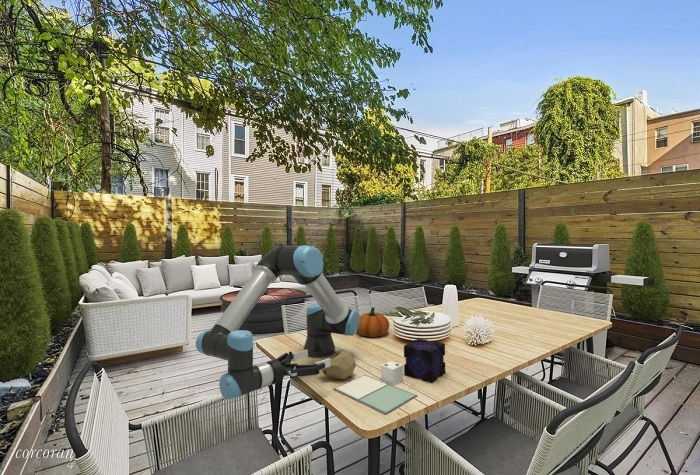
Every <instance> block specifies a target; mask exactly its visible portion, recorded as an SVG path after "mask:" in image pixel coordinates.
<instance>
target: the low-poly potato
mask: <svg viewBox="0 0 700 475" xmlns="http://www.w3.org/2000/svg"><path fill="white" fill-rule="evenodd" d="M326 359H327V358H325V359H323V360H326ZM330 359H331V366H330V367H327V368H324V369H322V370H321V371H322V374H324V375H326V376H328V377H331V378H334V379H335V380H336V379H337V380H341V381H342V380H345V379H348V378H350V377H351V375H352V374H353V373H354V371H355V369H356V367H357V363H356V360H355V359H354V357H353V354H352V352H351V351H349V350H347V349H345V350H343V351H341V352H340V353H339V354H338V355H337V356H335V357H334V358H330ZM324 375H323V376H324Z"/></svg>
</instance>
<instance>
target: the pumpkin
mask: <svg viewBox="0 0 700 475" xmlns="http://www.w3.org/2000/svg"><path fill="white" fill-rule="evenodd" d="M375 309H376V307H371V309H370V312H366V313H365V312H364V313H363V314H361V315H359V317H360V319H359V326H358V329H357V331H356V333H357V334H359V335H361V336H363V337H368V338H369V337H371V338H374V337H375V338H376V337H380V336H385V335H386V334H387V333H388V332H389V329H390V321H389V319H388V318H387V317H386V316H385V315H384V314H382V313H379V312H375Z"/></svg>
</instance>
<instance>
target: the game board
mask: <svg viewBox="0 0 700 475" xmlns="http://www.w3.org/2000/svg"><path fill="white" fill-rule="evenodd" d="M332 390H333V391H335V392H337V393H339V394H341V395H344V396H346V397H347V398H350V399H352V400H354V401H356V402H358V403H360V404H362V405H365V406H366V407H368V408H370V409H372V410H375V411H376V412H379V413H381V414H383V415H385V416H387V415H388V414H390V413H391V412H394V411H395V410H396V409H398V408H400V407H402V406H403V405H405V404H407V403H408V402H410V401H412V400H413V399H415V398H417V397H418V395H417V394H415V393H412V392H410V391H408V390H407V391H406V390H404V389H402V388H399V387H397V386H395V385H391V384H389V383H386V382H384V381H381V379H380V380H379V379H376V378H374V377H372V376H369V375H367V374H364V375H362V376H359V377H357V378H354V379H353V380H350V381H348V382H346V383H343V384H341V385H338V386H336V387H334V388H333V389H332Z"/></svg>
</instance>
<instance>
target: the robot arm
mask: <svg viewBox="0 0 700 475" xmlns="http://www.w3.org/2000/svg"><path fill="white" fill-rule="evenodd" d="M323 260H324V257H323V254H322V253H321V251H320V250H319V249H318V248H317V247H315V246H311V245H308V244H307V245H279V246H276V247H274V248H273V249H271V250H269V251H268V252H267V253H266V254H265V255H264V256H263V257H261V258H260V259H259V261H258V262H257V263H256V264H255V266H254V269H253V273H252V275H251V276H250V277H249V278H248V279H247V281H246V282H245V284H244V285H243V287H242V288H241V289H240V290H239V292H238V293H237V294H236V296H235V297H234V299H232V300H231V302H230V304H229V305H228V307H226V309H225V310H224V312H223V313H222V314H221V316H220V317H219V319H217V321H216V322H215V324H214V325H213V326H212V328H211V329H210V330H204V331H203V332H201V333H200V334H198V336H197V337H196V340H195V348H196V350H197V351H198V352H199V353H200V354H203V355H205V356H208V357H213V358H217V359H221V360H224V361H226V362H227V372H226V373H225V374H222V375H221V376H220V378H219V382H218V383H219V384H218V385H219V392H220V394H221V396H222V397H223V399H226V400H232V399H236V398H240V397H242V396H243V395H244V396H245V395H247V394H249V393H252V392H255V391H257V390H259V391H261V390H262V389H263V388H267V387H270V386H273V385H275V384H278V383H281V382H282V381H283V379H284V378H285V377H289V376H290V379H292V380H293V379H297V378H301V377H302V378H303V377H308V376H309V377H310V376H317V375H320V371H322V369H324V368H327V367H330V366H331V359H332V358H325V359H326V360H324V359H323V360H320V361H316V362H315V364H314V363H313V364H299V363H296V361H299V360H302V359H305V358H309V357H310V358H324V357H329V356H332V355H333V354H335V352H336V346H335V343H334V339H333V337H332V334H334V335H335V334H337V335H342V336H347V337H348V336H349V337H352V336H354V335H355V334H356V333H357V329H358V326H359V319H360V313H359V311H358V310H356V309H351V308H350V307H349V305H348V303H346V302H345V301H341V299H340V298H339V296H338V294H337V293H336V291H335V290H334V288H333V287H332V286H331V284H330V283H329V281H328V280H327V279H326V277H325V275H324V273H323V271H324V261H323ZM280 276H291V277H292V278H293V279H295V281H296V282H297V283H298V285H301V286H305V288H306V289H307V290H308V292H309V293H310V295H311V296H312V298H313V299H314V300H315V301H316V303H314V304H311V305H309V306H307V308H306V314H305V316H306V340H305V343H304V346H303V350H300V351H297V352H294V353H293V352H292V351H288V352H284V353H283V354H281V355H280V356H278V357H276V358H275V359H272V360H268V361H266V362H265V361H264V362H262V363H258V364H254V342H253V341H254V339H253V333H252V331H250V330H247V329H244V330H242V329H240V328H241V326H242V325H243V323H244V322H245V320H246V319H247V317H248V316H249V314H250V313H251V312H252V310H253V309H254V307H255V306H256V305H257V303H258V302H259V300H260V299H261V298H262V296H263V295H264V293H265V292H266V290H267V289H268V287H269V286H270V284H271V283H275V282H276V281H277V279H278V278H279V277H280ZM292 361H293V362H295V363H291V362H292Z"/></svg>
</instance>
